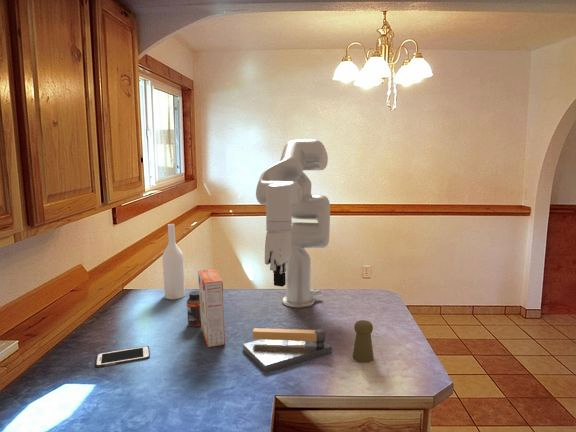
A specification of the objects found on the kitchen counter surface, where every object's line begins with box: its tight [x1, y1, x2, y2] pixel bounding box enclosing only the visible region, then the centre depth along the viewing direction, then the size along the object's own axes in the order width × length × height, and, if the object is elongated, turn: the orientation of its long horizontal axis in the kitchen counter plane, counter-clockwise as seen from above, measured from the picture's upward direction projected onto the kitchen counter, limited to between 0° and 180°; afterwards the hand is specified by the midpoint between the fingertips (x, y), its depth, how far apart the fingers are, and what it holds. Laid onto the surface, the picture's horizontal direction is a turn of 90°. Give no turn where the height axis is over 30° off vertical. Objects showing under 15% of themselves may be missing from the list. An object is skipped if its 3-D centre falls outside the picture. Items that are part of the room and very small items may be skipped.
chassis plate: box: [242, 328, 333, 373], centre depth 129 cm, size 22×15×4 cm
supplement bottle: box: [186, 290, 201, 328], centre depth 149 cm, size 6×6×11 cm
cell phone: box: [94, 345, 151, 368], centre depth 127 cm, size 8×15×1 cm, turn 110°
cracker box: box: [197, 268, 226, 348], centre depth 137 cm, size 14×6×21 cm, turn 19°
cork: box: [352, 319, 375, 364], centre depth 124 cm, size 6×6×11 cm
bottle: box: [162, 223, 186, 300], centre depth 175 cm, size 8×8×30 cm
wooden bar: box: [252, 327, 327, 342], centre depth 129 cm, size 22×3×3 cm, turn 85°
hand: (279, 285), depth 131 cm, fingers closed
